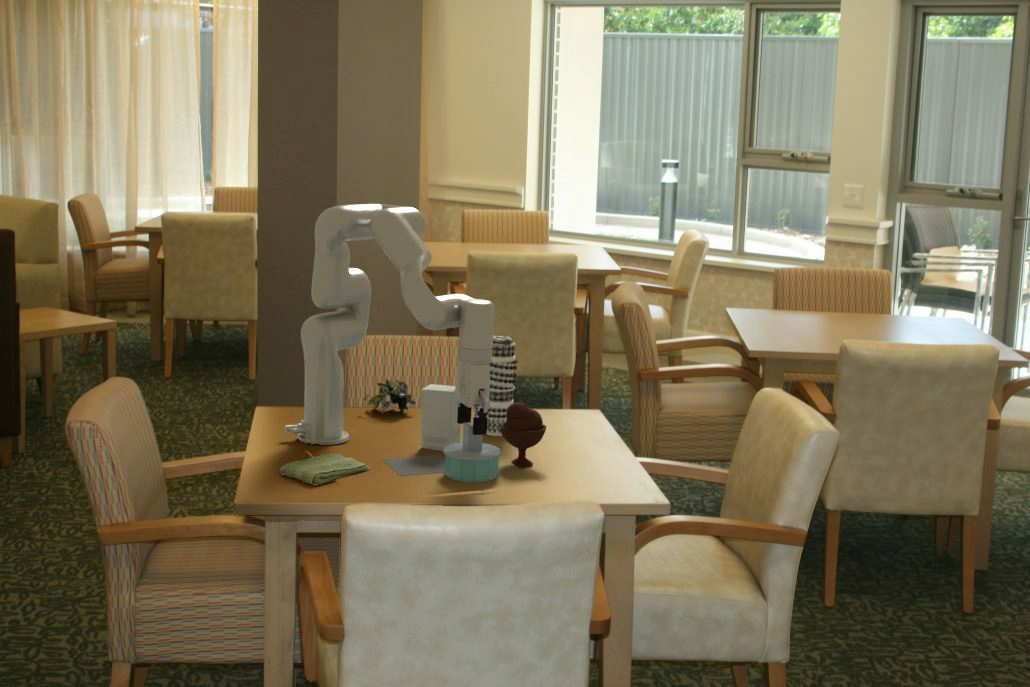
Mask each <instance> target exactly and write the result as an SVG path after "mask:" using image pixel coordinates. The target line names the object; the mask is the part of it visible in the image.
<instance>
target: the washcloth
mask: <svg viewBox="0 0 1030 687" xmlns="http://www.w3.org/2000/svg"><path fill="white" fill-rule="evenodd" d="M370 470H371V466H368V465H366V463H364V462H360V461H357V460H356V459H354V458H353V457H345V456H343V455H342V454H340V453H330V454H329V453H328V454H327V453H326V454H321V455H318V456H314V457H309V458H307V459H301V460H296V461H292V462H288V463H286V464H284V465H282V466H281V467H280V468H279V473H280V475H282V474H284V475H286V476H285V477H287V476H289V477H288V478H290V477H292V478H297V479H300V480H302V481H303V482H302V481H301V482H302V483H304V482H307V483H309V484H320V485H324V484H323V483H325V484H327V483H326V482H329V481H333V480H337V479H339V478H342V477H346V476H350V475H353V474H357V473H361V472H365V471H367V472H368V471H370ZM292 478H291V479H292ZM297 479H296V480H297ZM300 480H299V481H300ZM333 482H334V481H333ZM309 484H308V485H309Z"/></svg>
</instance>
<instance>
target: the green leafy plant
mask: <svg viewBox="0 0 1030 687" xmlns="http://www.w3.org/2000/svg"><path fill="white" fill-rule="evenodd" d="M376 383H377V386H378V388H379V391H378V394H376V395H374V396H371V395H369V393H366V394H365V396H364V398H363V401H365V402H366V401H367V399H368V397H369V400H368V401H367V402H368V403H367V405H368V407H370V406H371V405H373V410H377V408H378V407H379V406H380V404H382V412H381V413H380V416H382V415H383V414H384V413H385V411H386V410H387V409H388V408H390V404H391V403H392V404H393V405H397V406H398V410H399V411H400V412H404V411H405V410H406V411H408V410H409V407H408V404H411V405H414V406H415V405H416V403H417V402H416V401H415V400H414V399H412V394H411V393H409V392H407V391H408V390H409V386H408V385H407V383H405V381H403V380H401V379H395V381H393V380H390V378H387V379H385V382H384V383H382V382H379V381H377V382H376ZM387 396H389V397H390V398H389V400H388V401H387V400H386V397H387Z"/></svg>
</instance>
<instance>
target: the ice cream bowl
mask: <svg viewBox="0 0 1030 687" xmlns="http://www.w3.org/2000/svg"><path fill="white" fill-rule="evenodd" d="M506 418H507V421H506V422H503V423H502V424H501V425H500V430H501V434H502V436H501V437H502V438H503V439H504V440H505V441H506V442H507V443H508V444H509V445H511V446H513V447H514V448H516V449H517V451H518V452H517V453H518V455H517V457H516V458H515V459H512V460H511V461H510V463H511V464H512V465H513V466H515V467H517V468H518V469H529V468H532V467H533V466H534V462H532V461H531V460H530V459H528V458H527V455H526V454H527V449H530V448H533V447H534V446H536V445H537V444H539V443H540V442H541V440H543V437H544V435H545V434H546V429H547V425H545V424H544V423H543V421H544V420H543V417H542V415H541V414H540V413H539V411H538V410H535V409H534V408H531V407H529V406H528V404H526V403H523V402H521V401H519V402H518V401H515V402H513V404H511V405H510V406H509V407H508V409H507V413H506Z"/></svg>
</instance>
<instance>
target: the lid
mask: <svg viewBox="0 0 1030 687" xmlns="http://www.w3.org/2000/svg"><path fill="white" fill-rule="evenodd" d="M462 425H463V426H462V428H463V429H462V442H460V443H454V444H450V445H447V446H445V447H444V450H443V451H442V452H443V455H444V456H445V455H446V456H447V457H450V458H453V459H457V460H464V461H486V460H492V459H495V458H498V457H499V458H500V457H501V454H502V453H501V452H502V450H501V448H499V447H498V446H495V445H493V444H489V443H485V442H484V443H483V436H484V435H473V421H471V422H467V423H463V424H462Z"/></svg>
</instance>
